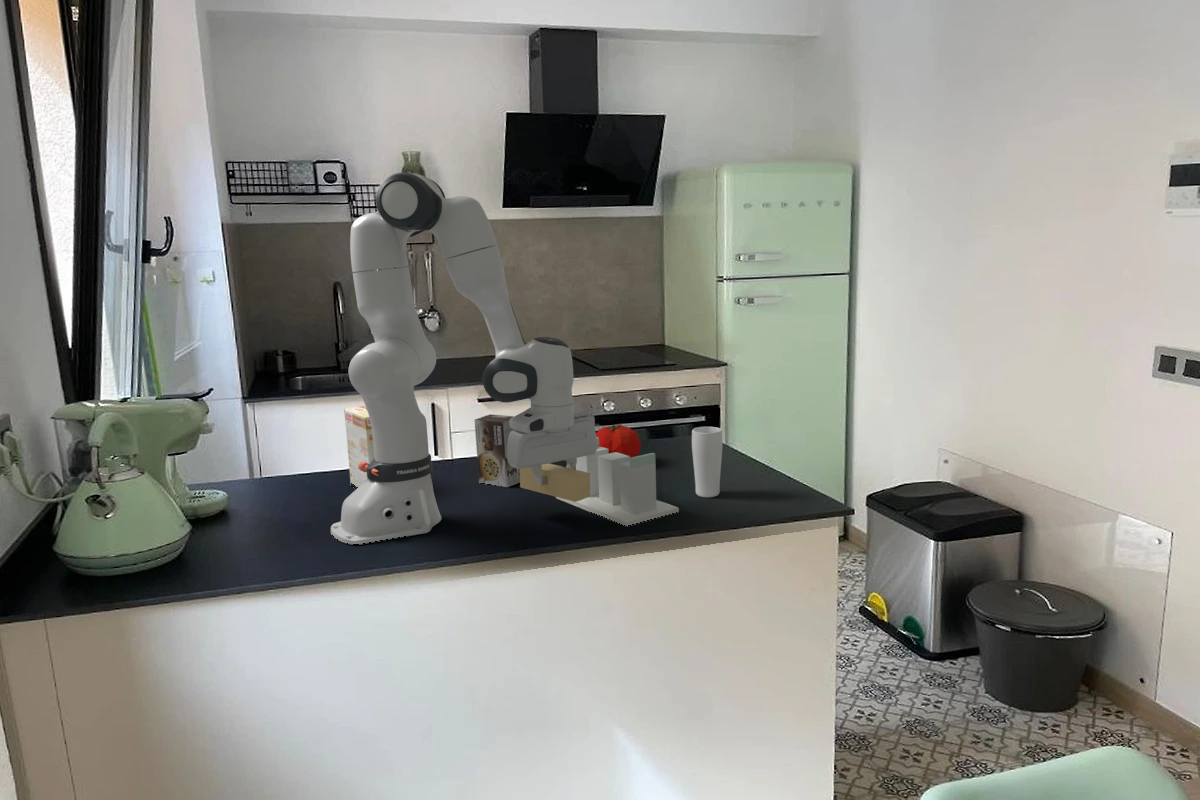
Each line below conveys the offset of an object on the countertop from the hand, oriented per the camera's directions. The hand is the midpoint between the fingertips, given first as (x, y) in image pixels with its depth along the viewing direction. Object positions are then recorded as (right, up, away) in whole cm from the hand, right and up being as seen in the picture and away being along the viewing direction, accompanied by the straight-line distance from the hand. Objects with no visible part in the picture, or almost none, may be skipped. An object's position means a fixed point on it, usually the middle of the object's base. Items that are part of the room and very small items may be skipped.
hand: (554, 482), depth 179 cm
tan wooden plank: (0, -2, 0) cm, 2 cm away
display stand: (+13, -6, +10) cm, 17 cm away
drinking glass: (+34, -5, +15) cm, 37 cm away
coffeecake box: (-45, -5, +28) cm, 53 cm away
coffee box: (-15, -3, +31) cm, 34 cm away
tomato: (+14, 0, +42) cm, 45 cm away
